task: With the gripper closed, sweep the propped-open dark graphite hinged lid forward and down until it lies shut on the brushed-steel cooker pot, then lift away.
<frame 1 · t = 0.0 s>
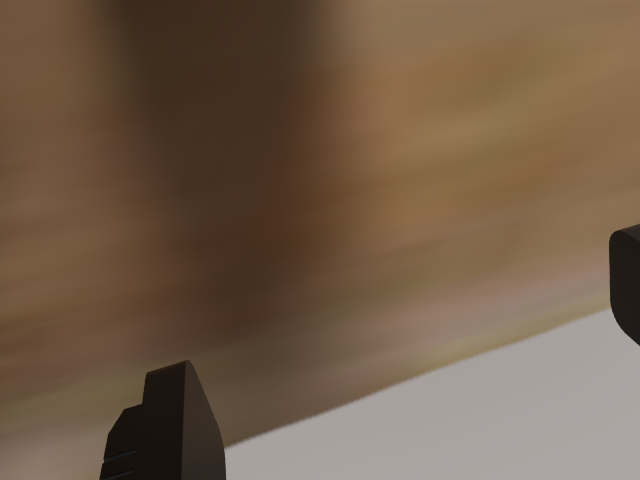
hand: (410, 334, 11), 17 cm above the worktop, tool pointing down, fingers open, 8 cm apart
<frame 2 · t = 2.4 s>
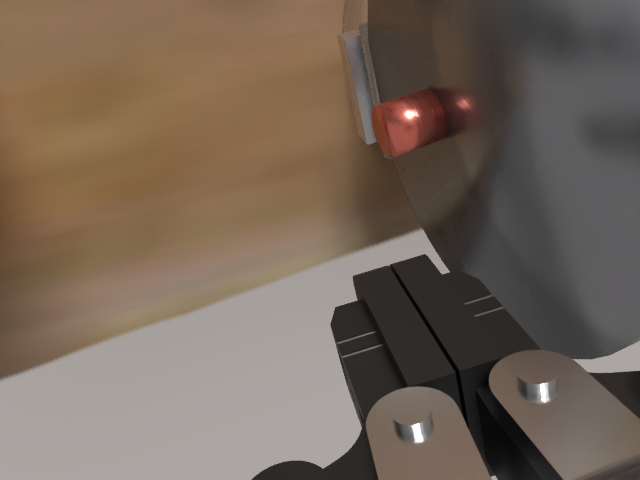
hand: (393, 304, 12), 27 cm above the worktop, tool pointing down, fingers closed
lid: (455, 80, 19), point 19 cm above the worktop, hinge at 80.0°
cooker pot: (461, 22, 37), on the worktop
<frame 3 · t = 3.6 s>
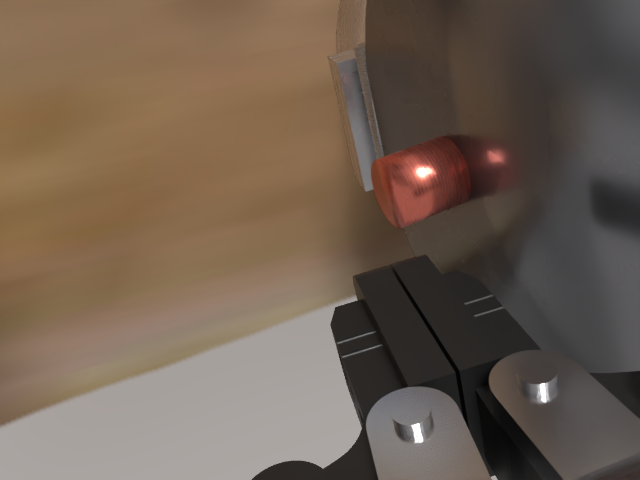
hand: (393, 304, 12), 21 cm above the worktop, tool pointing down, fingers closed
lid: (488, 135, 14), point 19 cm above the worktop, hinge at 80.0°
cooker pot: (476, 34, 32), on the worktop
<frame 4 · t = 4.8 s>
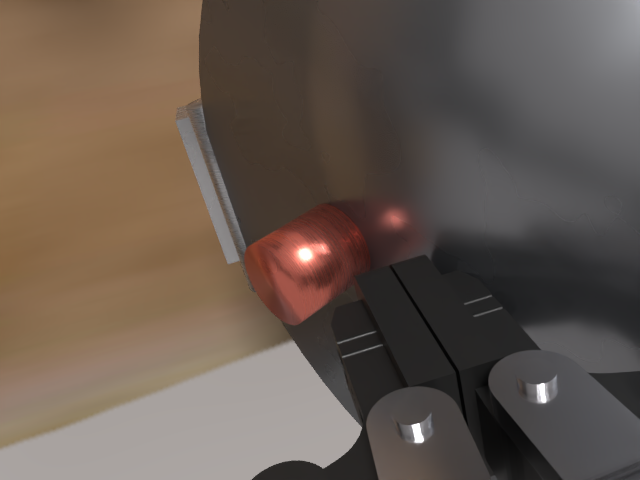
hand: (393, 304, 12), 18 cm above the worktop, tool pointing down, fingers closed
lid: (399, 200, 11), point 18 cm above the worktop, hinge at 59.5°, touching gripper
cooker pot: (391, 64, 28), on the worktop
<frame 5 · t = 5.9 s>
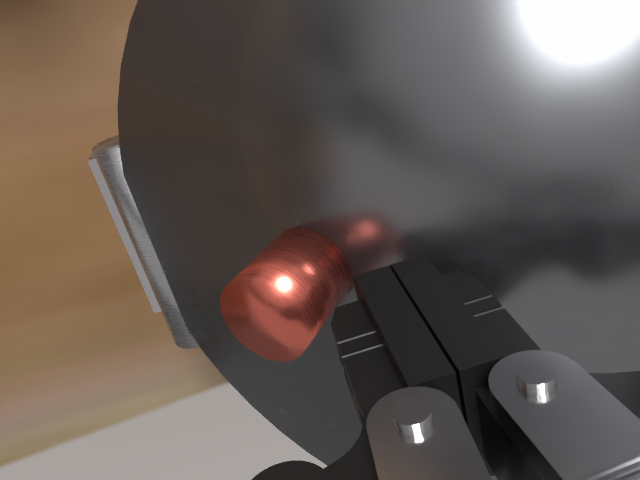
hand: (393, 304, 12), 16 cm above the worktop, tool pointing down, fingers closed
lid: (402, 204, 11), point 16 cm above the worktop, hinge at 38.0°, touching gripper
cooker pot: (353, 87, 26), on the worktop
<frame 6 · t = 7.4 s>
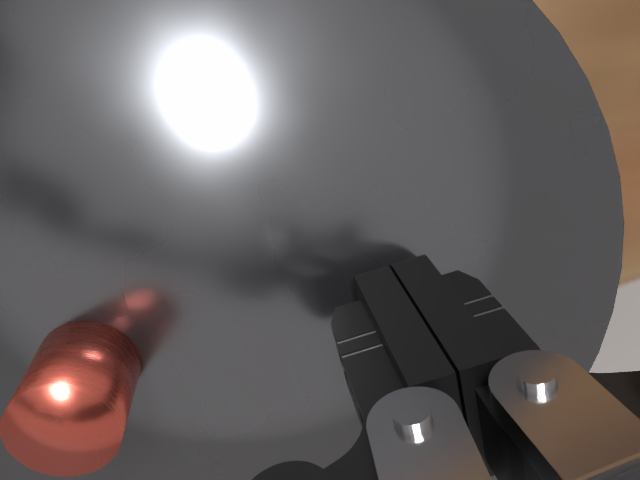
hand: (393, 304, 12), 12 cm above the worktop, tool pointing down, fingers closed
lid: (185, 264, 11), point 12 cm above the worktop, hinge at 4.5°, touching gripper
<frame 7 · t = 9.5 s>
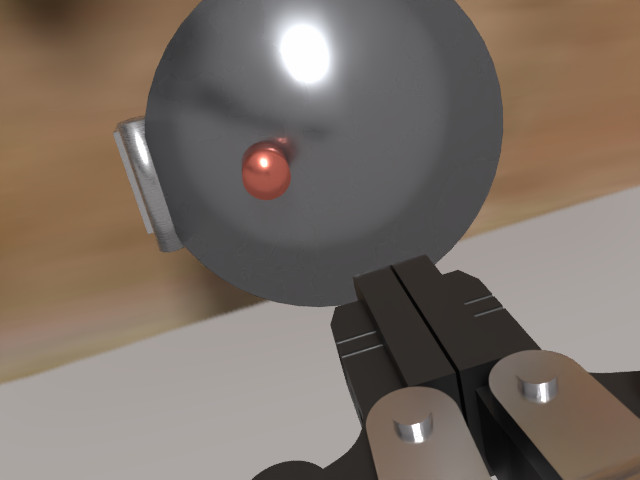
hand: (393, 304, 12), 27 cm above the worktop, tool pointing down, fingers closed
lid: (315, 113, 26), point 12 cm above the worktop, hinge at 1.4°
cooker pot: (298, 102, 37), on the worktop
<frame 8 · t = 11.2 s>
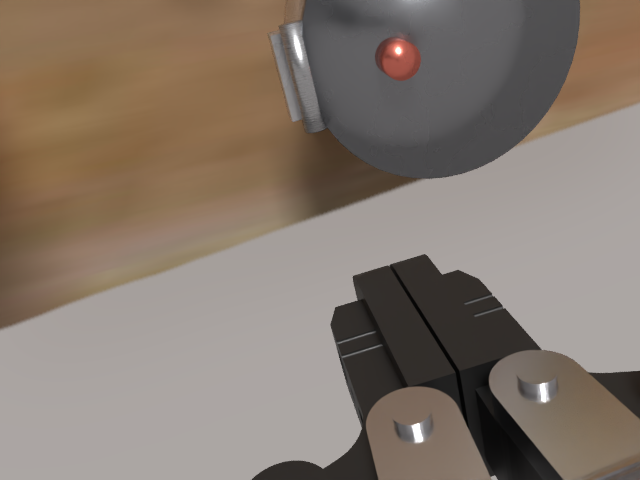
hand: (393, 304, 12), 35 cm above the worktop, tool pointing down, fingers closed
lid: (435, 11, 33), point 12 cm above the worktop, hinge at 1.4°
cooker pot: (386, 23, 44), on the worktop
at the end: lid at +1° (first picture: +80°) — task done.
